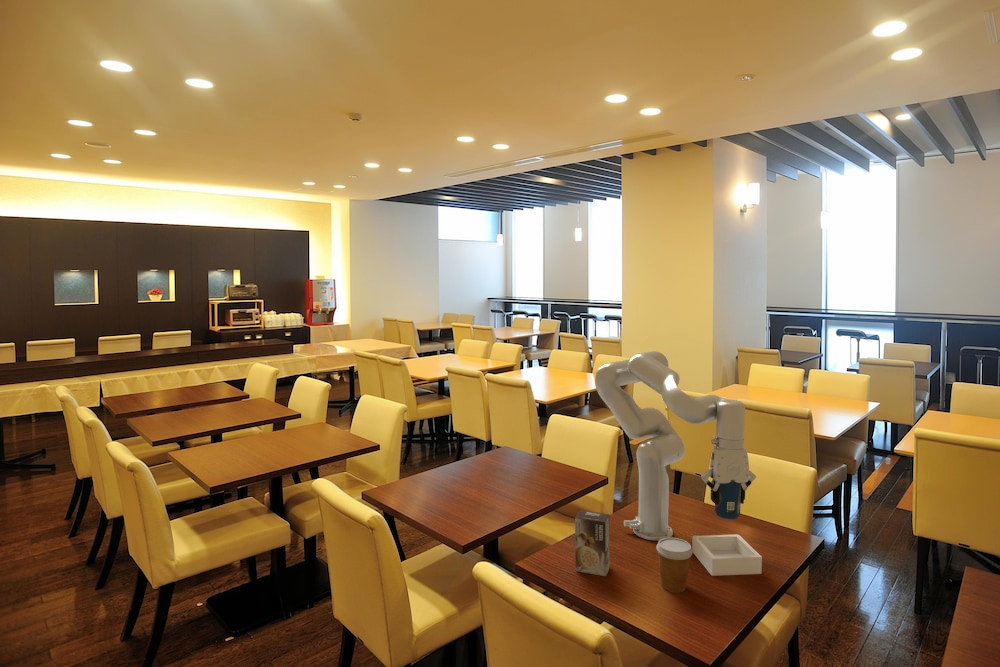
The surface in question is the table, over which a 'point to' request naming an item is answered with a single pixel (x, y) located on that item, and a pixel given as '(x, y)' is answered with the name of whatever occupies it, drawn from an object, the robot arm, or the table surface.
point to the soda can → (729, 500)
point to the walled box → (726, 555)
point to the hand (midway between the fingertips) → (727, 501)
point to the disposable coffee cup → (674, 563)
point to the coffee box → (592, 542)
